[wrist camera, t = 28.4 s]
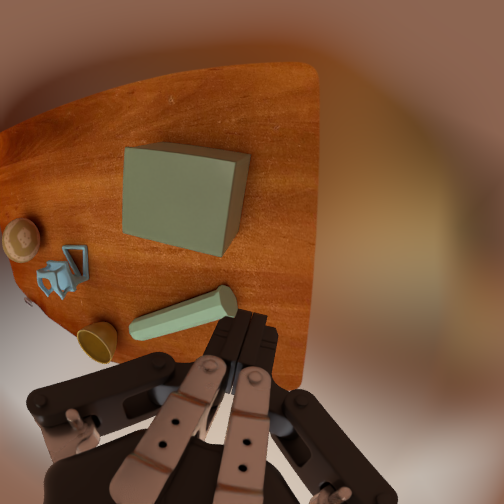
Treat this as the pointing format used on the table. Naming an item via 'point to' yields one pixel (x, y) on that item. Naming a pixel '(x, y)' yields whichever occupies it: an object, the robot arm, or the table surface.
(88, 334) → the flower pot
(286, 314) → the table surface
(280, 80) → the table surface
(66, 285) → the chair
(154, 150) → the lid
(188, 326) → the green rod
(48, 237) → the table surface
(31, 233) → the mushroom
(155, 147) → the chest
